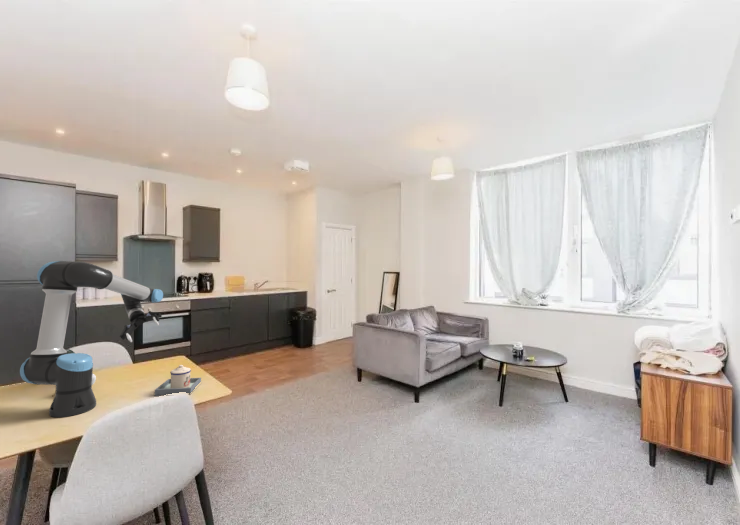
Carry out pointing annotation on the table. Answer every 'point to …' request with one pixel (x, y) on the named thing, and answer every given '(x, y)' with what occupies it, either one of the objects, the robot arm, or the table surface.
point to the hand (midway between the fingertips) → (144, 331)
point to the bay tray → (166, 386)
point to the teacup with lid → (180, 377)
